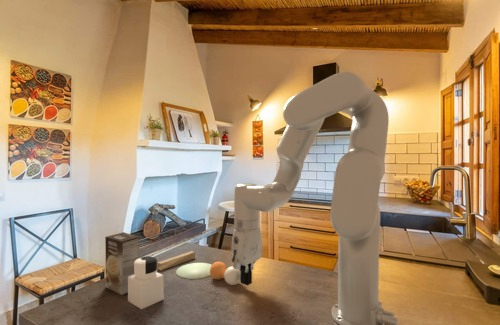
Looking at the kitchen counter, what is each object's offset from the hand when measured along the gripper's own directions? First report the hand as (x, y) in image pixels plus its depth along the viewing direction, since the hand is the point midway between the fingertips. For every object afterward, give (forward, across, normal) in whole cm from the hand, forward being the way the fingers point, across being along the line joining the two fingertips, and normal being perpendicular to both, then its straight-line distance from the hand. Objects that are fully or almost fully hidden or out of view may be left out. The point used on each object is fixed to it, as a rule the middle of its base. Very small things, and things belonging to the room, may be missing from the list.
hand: (246, 283), depth 88 cm
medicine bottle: (+2, -23, +18) cm, 29 cm away
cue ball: (-1, 0, +5) cm, 5 cm away
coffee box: (+2, -23, +31) cm, 39 cm away
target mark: (+2, 0, +23) cm, 23 cm away
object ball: (-1, 0, +12) cm, 12 cm away
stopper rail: (+2, 0, +34) cm, 34 cm away
